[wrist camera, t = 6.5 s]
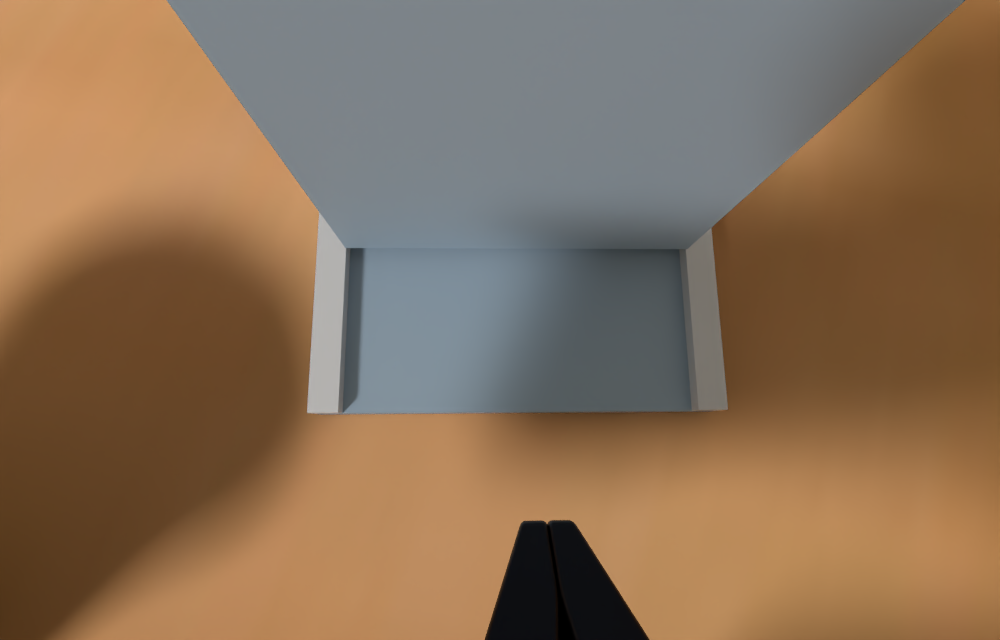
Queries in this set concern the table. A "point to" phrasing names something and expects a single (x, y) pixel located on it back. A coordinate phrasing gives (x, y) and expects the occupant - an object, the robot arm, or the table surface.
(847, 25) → the jaw
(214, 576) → the table surface
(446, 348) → the light blue base plate
